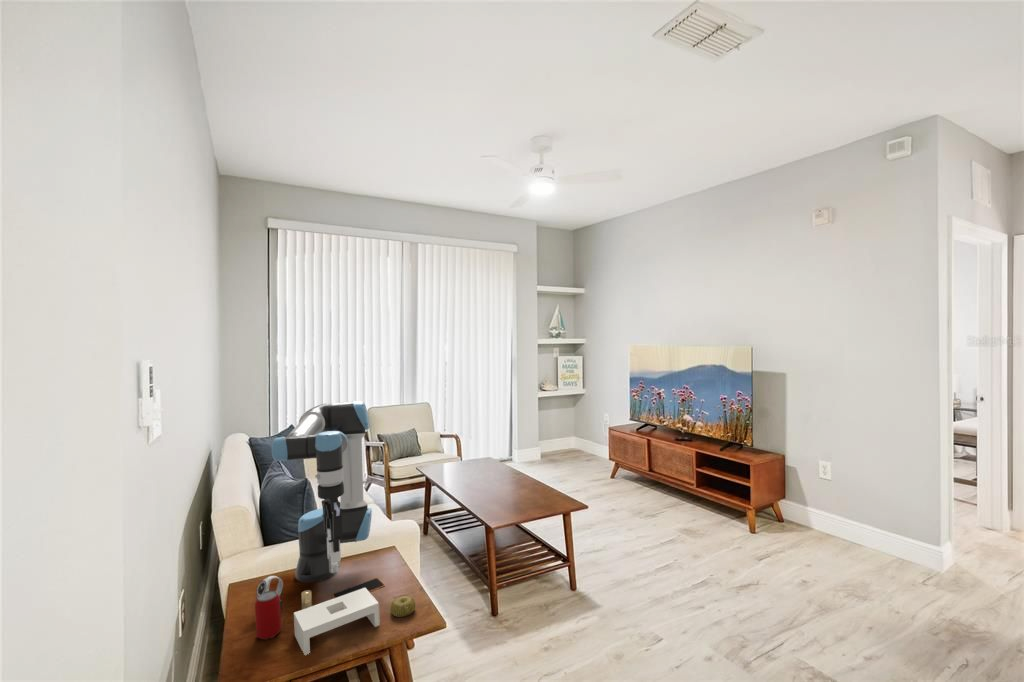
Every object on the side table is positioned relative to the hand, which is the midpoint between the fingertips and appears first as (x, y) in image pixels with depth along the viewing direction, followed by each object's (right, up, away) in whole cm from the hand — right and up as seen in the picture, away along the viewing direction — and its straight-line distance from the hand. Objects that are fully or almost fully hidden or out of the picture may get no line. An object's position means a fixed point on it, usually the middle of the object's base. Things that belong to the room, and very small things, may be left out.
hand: (334, 559), depth 147 cm
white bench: (+1, -22, 0) cm, 22 cm away
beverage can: (-20, -23, 0) cm, 30 cm away
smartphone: (0, -22, +23) cm, 32 cm away
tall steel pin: (0, -3, 0) cm, 3 cm away
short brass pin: (-12, -22, +10) cm, 27 cm away
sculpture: (+19, -21, +9) cm, 30 cm away
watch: (-26, -23, +13) cm, 37 cm away
